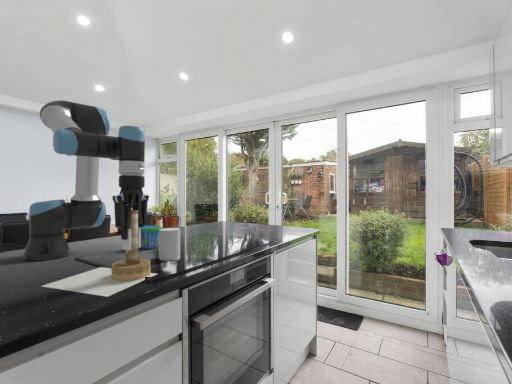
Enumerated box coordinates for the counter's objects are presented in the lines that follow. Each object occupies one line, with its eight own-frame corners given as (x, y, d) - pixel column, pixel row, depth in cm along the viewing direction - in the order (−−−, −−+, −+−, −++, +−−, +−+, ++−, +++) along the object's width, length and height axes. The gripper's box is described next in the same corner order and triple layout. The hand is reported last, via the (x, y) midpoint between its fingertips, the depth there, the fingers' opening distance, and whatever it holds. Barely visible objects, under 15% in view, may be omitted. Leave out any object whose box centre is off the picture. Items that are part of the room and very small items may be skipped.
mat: (40, 287, 76) (40, 286, 76) (100, 268, 95) (100, 267, 95) (107, 298, 69) (107, 296, 69) (158, 275, 88) (158, 273, 88)
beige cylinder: (123, 261, 85) (123, 210, 85) (131, 258, 88) (131, 210, 88) (132, 262, 84) (132, 211, 84) (140, 259, 87) (140, 210, 87)
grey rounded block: (183, 256, 112) (183, 228, 112) (175, 261, 104) (175, 231, 104) (164, 256, 113) (164, 227, 113) (155, 261, 105) (155, 230, 105)
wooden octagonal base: (103, 278, 83) (103, 265, 83) (130, 268, 93) (130, 257, 93) (132, 282, 79) (132, 269, 79) (157, 272, 90) (157, 260, 90)
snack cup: (139, 252, 120) (139, 229, 120) (128, 248, 127) (128, 227, 127) (170, 246, 132) (170, 226, 132) (158, 243, 139) (158, 224, 139)
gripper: (121, 173, 77) (120, 255, 77) (158, 176, 93) (158, 244, 93) (100, 173, 79) (100, 253, 79) (140, 176, 95) (140, 242, 95)
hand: (131, 248), depth 86 cm, fingers closed on beige cylinder, 3 cm apart
